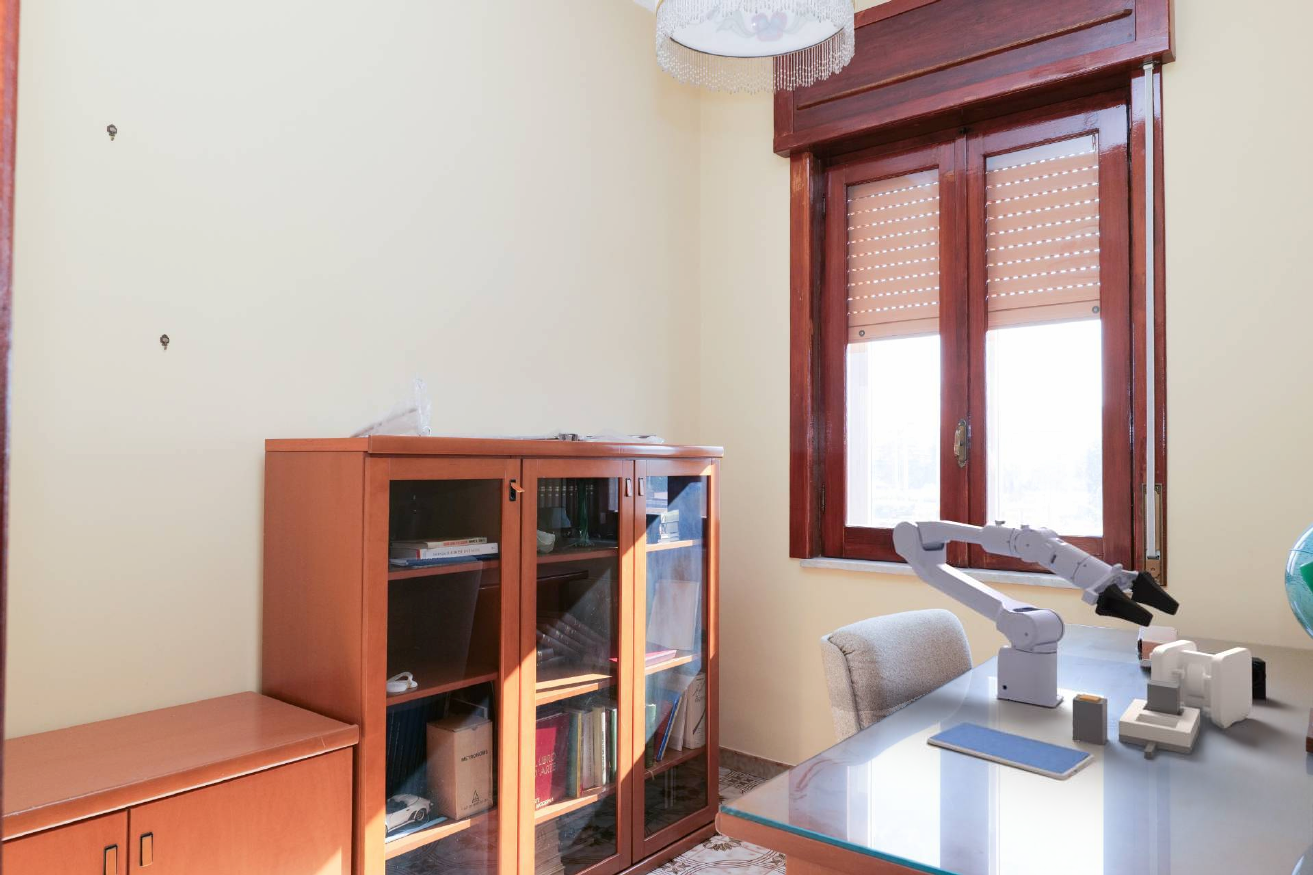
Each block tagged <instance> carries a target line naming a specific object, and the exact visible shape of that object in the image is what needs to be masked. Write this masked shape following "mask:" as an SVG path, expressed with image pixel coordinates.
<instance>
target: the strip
mask: <svg viewBox="0 0 1313 875" xmlns="http://www.w3.org/2000/svg"><path fill="white" fill-rule="evenodd" d="M1146 684H1147V686H1146V688H1147V690H1146V693H1147V694H1146V695H1147V697H1146V700H1145V699H1138V698H1134V699H1133V701H1132V702H1131V703H1130V704H1129V706H1128V707H1127V709H1126V710H1125V711H1124V713H1123V714H1122V716H1121V717H1120V718H1119V720H1118V741H1119V742H1123V743H1128V744H1133V745H1138V746H1139V745H1140V746H1144V747H1145V749H1144V751H1143V758H1145V759H1150V760H1152V759H1153V758H1154V755H1155V753H1156V751H1157V749H1160V750H1165V751H1170V752H1176V753H1181V754H1186V755H1191V753H1192V750H1193V748H1194V745H1195V742H1196V740H1197V737H1198V734H1199V732H1200V730H1201V709H1197V708H1193V707H1183V706H1180V683H1173V682H1167V681H1160V680H1153V679H1150V680H1149V681H1148V682H1147V683H1146Z"/></svg>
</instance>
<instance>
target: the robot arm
mask: <svg viewBox="0 0 1313 875" xmlns="http://www.w3.org/2000/svg"><path fill="white" fill-rule="evenodd" d="M951 541H954V542H955V541H956V542H962V543H971V544H976V545H977V544H979V545H981V547H982V548H983V550H984V551H985V552H986V553H990V554H997V555H1000V556H1008V557H1012V558H1018V559H1019V558H1020V559H1021V561H1023V562H1025V563H1035V562H1036V563H1038V564H1039V565H1041V566H1042V567H1044V568H1046V569H1047V570H1049V571H1050V572H1052V573H1053V574H1056V575H1057V576H1059V577H1061V578H1062V579H1064V580H1065V581H1067V582H1069V583H1071V584H1072V585H1074V586H1076V587H1078V588H1079V589H1081V590H1083V594H1082V597H1081V600H1082V601H1083V602H1084V603H1086V604H1088V605H1090V606H1091V607H1092V606H1096V607H1095V610H1094V612H1095V614H1096V615H1098V616H1100V617H1110V618H1111V617H1112V618H1115V619H1119V620H1124V621H1127V622H1130V623H1133V624H1136V625H1139V626H1142V627H1145V628H1148V627H1150V625H1151V623H1152V620H1153V618H1154V615H1153V614H1152V612H1151V611H1149V610H1148V609H1146V608H1145V607H1143V606H1142V605H1145V606H1148V607H1151V608H1154V609H1155V610H1158V611H1160V612H1162V613H1164V614H1167V615H1170V616H1175V615H1176V614H1177V612H1178V610H1179V607H1180V603H1179V602H1178V601H1177V600H1176V599H1175V598H1174V597H1172V596H1171V595H1170V594H1169V593H1168V592H1166V591H1165V590H1164V589H1163V588H1162V587H1161V586H1160V585H1159V583H1158V582H1157V581H1156V580H1155V578H1154V577H1153V575H1152V573H1151V572H1149V571H1147V570H1145V569H1144V570H1141V571H1137V570H1133V571H1131V570H1125V569H1123V567H1124V566H1123V564H1121V563H1116V564H1114V565H1112V566H1111V565H1110V564H1108V563H1106V562H1104V561H1103V560H1101V559H1098V558H1096V557H1095V556H1094V555H1091V554H1089V553H1088V552H1085V551H1084V550H1082V549H1080V548H1078V547H1077V546H1074V545H1073V544H1071V543H1069V542H1066V541H1065V540H1062V539H1061V536H1060V535H1059V534H1058V533H1057V532H1056V531H1055V530H1053V529H1050V528H1047V527H1045V526H1044V527H1038V528H1031V527H1030V524H1027V523H1021V524H1020V525H1016V524H1015V525H1014V524H1009V523H1006V520H1003V519H995V520H994V521H990V522H987V523H986V524H985V525H983V526H978V525H971V524H968V523H961V522H956V521H950V520H925V521H922V520H921V521H908V520H906V521H901V522H898V524H896V526H895V527H894V528H893V532H892V542H893V544H894V545H893V546H894V550H895V553H896V554H898V555H899V556H901V558H904V559H905V561H906V562H907V563H908V564H909V566H910V567H911V569H912V570H913V571H914V573H915V574H916V575H917V577H918V579H920V580H921V581H922V582H923V583H926V584H927V585H929V586H931V587H932V588H934V589H936V590H937V591H939V592H941V593H943V594H944V595H947V596H948V597H950V598H952V599H953V600H955V601H957V602H959V603H960V604H962V605H964V606H966V607H967V608H969V609H971V610H973V611H975V612H977V613H978V614H980V615H982V616H984V617H985V618H987V619H989V620H990V621H992V622H994V623H995V628H996V630H997V631H998V632H999V633H1001V634H1003V635H1004V637H1006V639H1007V640H1008V642H1009V643H1010V644H1009V645H1007V644H1004V645H1001V646H1000V647H999V650H998V655H997V664H996V666H997V674H996V675H997V679H996V681H997V682H996V683H997V692H996V693H997V694H995V695H996V698H998V699H1003V700H1008V699H1009V700H1010V701H1014V702H1020V703H1021V702H1022V703H1027V704H1030V705H1032V704H1033V705H1037V706H1044V707H1048V708H1055V707H1056V706H1057V705H1058V704H1059V703H1060V702H1061V701H1062V700H1064V698H1065V697H1064V695H1062V694H1061V695H1060V694H1058V649H1059V648H1058V646H1059V645H1058V642H1060V641H1062V639H1063V638H1064V635H1065V630H1066V625H1065V622H1064V620H1063V618H1062V616H1061V615H1060V614H1059V613H1058V612H1057V611H1055V610H1053V609H1051V608H1044V607H1043V608H1040V607H1037V606H1035V605H1033V604H1030V603H1028V602H1022V601H1018V600H1014V599H1012V598H1011V597H1009V596H1007V595H1005V594H1003V593H1002V592H1000V591H998V590H996V589H994V588H992V587H991V586H988V585H986V584H984V583H983V582H980V581H979V580H978V579H975V578H973V577H972V576H969V575H968V574H965V573H964V572H962V571H960V570H958V569H956V568H955V567H952V566H950V565H949V564H947V563H946V562H947V544H948V543H951ZM1128 589H1129V590H1130V592H1131V593H1132V594H1131V597H1129V595H1127V594H1126V593H1125V592H1124V591H1126V590H1128ZM1141 604H1142V605H1141Z"/></svg>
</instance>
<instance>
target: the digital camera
mask: <svg viewBox="0 0 1313 875" xmlns="http://www.w3.org/2000/svg"><path fill="white" fill-rule="evenodd" d="M1205 653H1206V654H1212V655H1215V654H1216V653H1210V652H1205ZM1266 666H1267V665H1266V661H1264V660H1263V659H1262V658H1260V657H1256V656H1252V700H1261V701H1267V671H1266V670H1267V669H1266V668H1267V667H1266Z"/></svg>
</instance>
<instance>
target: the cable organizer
mask: <svg viewBox="0 0 1313 875" xmlns="http://www.w3.org/2000/svg"><path fill="white" fill-rule="evenodd" d="M1206 653H1207V652H1200V651H1198V647H1197V645H1196V643H1195V642H1194V641H1191V640H1185V639H1180V640H1176V641H1173V642H1168V643H1165V644H1160V645H1158V646H1155V647H1154V648H1153V650H1152V652H1150V653H1149V654H1148V657H1149V658H1148V659H1149V662H1151V664H1150V665H1151V669H1150V672H1151V679H1153V680H1160V681H1167V682H1173V683H1180V706H1183V707H1189V708H1195V709H1200V710H1203V713H1202V715H1203V716H1204V717H1206V713H1207V714H1210V719H1211V722H1212V723H1213V724H1214V725H1217V726H1219V728H1221V729H1227V728H1228V727H1230V726H1231V725H1232V724H1233V723H1236V722H1241V721H1243V720H1245V719H1246V717H1248V716H1250V714H1251V712H1252V707H1253V699H1252V657H1253V656H1252V652H1251V651H1250V649H1249V648H1246V647H1235V648H1231V649H1228V650H1225V651H1222V652H1219V653H1214V654H1215V655H1212V654H1213V653H1211V654H1206Z"/></svg>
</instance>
